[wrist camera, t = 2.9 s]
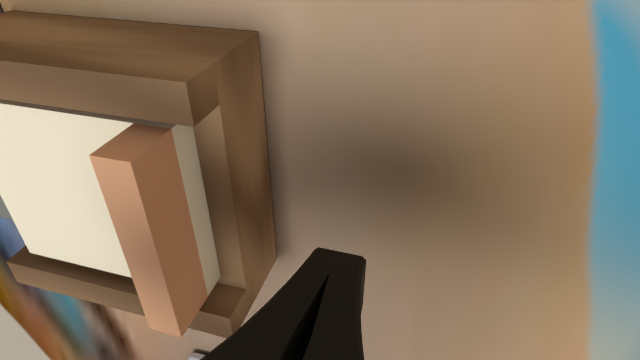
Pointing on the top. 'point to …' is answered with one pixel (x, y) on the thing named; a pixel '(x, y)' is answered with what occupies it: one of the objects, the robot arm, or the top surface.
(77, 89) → the walnut box
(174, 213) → the lid
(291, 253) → the top surface
